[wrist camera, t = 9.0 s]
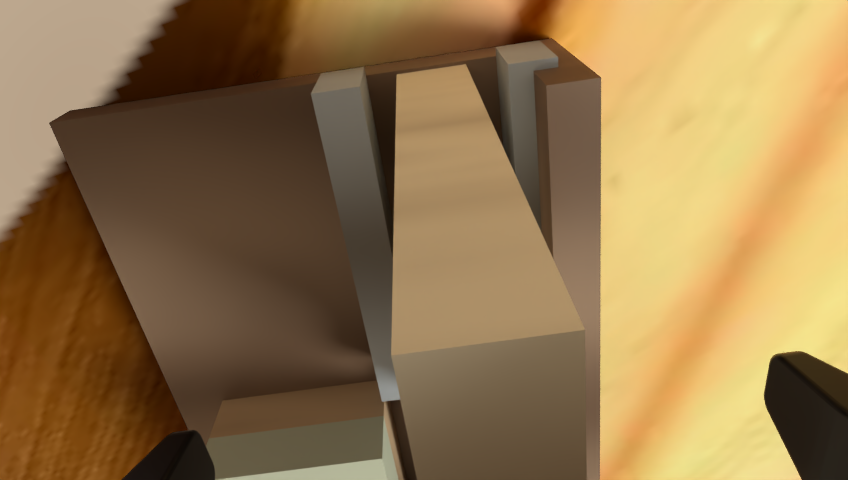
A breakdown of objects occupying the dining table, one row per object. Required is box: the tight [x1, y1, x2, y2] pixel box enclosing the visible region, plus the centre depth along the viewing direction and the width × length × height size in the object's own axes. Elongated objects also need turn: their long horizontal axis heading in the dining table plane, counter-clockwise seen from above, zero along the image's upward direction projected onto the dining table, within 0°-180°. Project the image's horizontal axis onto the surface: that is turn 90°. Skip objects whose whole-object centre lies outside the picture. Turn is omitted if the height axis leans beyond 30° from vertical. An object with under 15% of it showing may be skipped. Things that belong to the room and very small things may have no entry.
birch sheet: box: [391, 64, 587, 480], centre depth 11 cm, size 8×2×10 cm, turn 8°
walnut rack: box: [49, 38, 601, 480], centre depth 17 cm, size 17×12×4 cm
